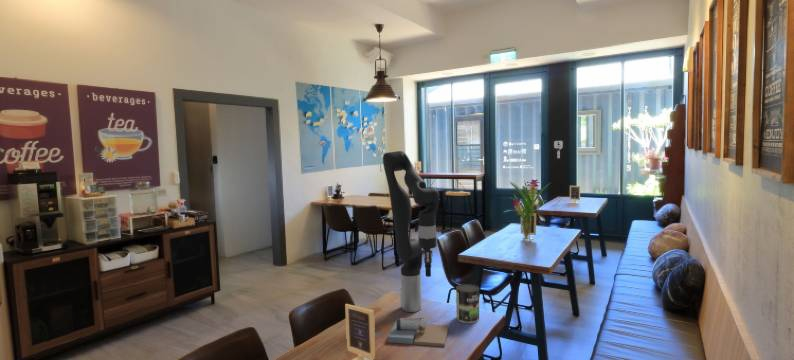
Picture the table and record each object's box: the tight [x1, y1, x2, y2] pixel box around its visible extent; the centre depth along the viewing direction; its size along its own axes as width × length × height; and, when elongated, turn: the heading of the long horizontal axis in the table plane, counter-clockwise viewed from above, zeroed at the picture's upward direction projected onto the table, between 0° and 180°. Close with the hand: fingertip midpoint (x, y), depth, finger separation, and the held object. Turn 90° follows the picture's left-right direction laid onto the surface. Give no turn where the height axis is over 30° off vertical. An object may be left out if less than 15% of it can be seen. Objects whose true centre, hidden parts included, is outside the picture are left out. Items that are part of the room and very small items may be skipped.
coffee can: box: [455, 283, 480, 324], centre depth 187 cm, size 10×10×14 cm
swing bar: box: [395, 317, 427, 330], centre depth 173 cm, size 12×3×4 cm, turn 84°
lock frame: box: [387, 321, 449, 348], centre depth 173 cm, size 16×22×5 cm
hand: (428, 276), depth 176 cm, fingers closed
